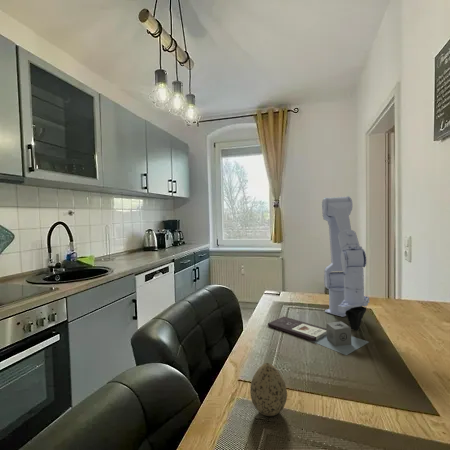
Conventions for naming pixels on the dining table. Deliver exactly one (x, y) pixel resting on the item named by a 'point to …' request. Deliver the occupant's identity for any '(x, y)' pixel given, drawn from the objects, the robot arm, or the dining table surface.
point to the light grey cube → (338, 333)
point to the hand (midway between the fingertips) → (355, 329)
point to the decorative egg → (268, 390)
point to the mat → (343, 349)
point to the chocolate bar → (298, 328)
